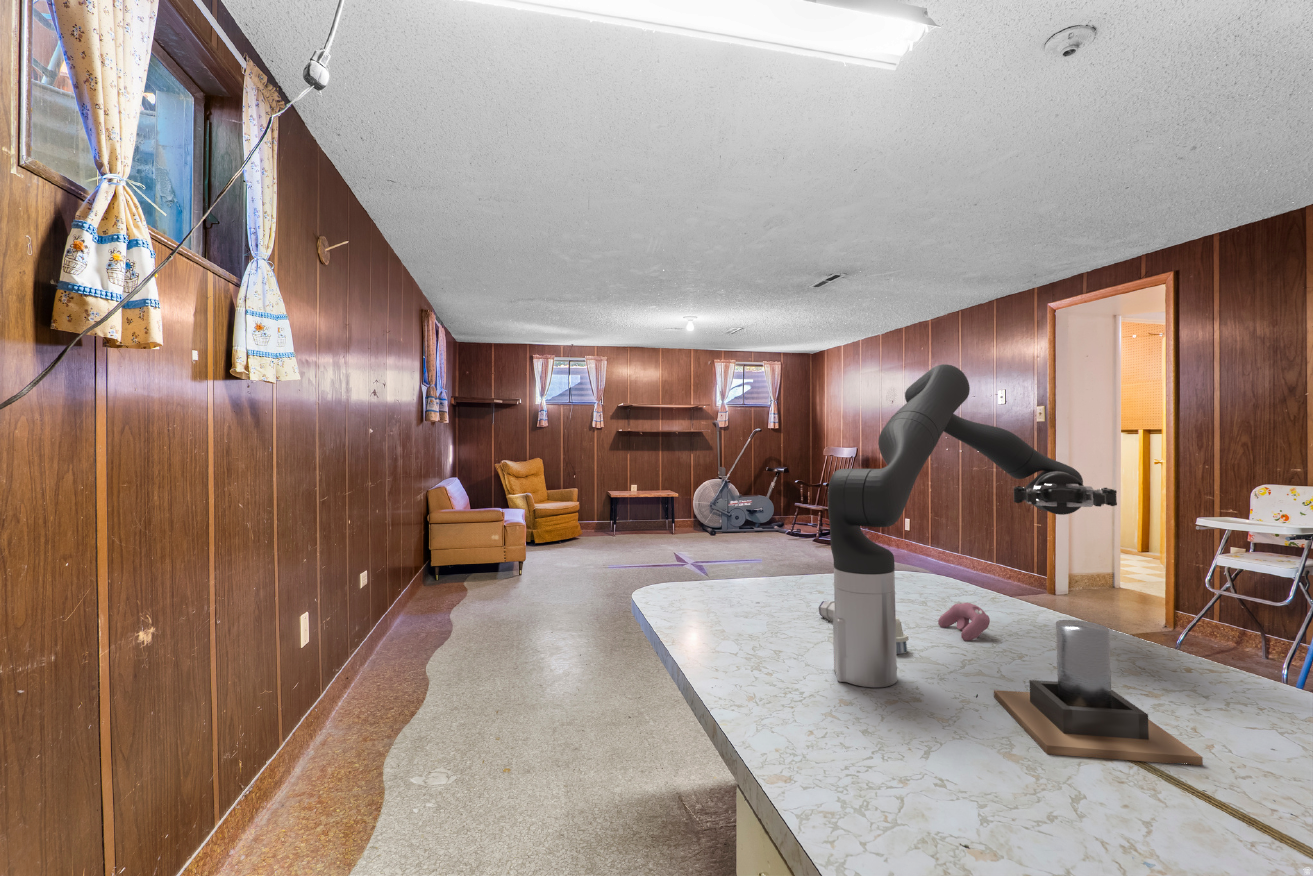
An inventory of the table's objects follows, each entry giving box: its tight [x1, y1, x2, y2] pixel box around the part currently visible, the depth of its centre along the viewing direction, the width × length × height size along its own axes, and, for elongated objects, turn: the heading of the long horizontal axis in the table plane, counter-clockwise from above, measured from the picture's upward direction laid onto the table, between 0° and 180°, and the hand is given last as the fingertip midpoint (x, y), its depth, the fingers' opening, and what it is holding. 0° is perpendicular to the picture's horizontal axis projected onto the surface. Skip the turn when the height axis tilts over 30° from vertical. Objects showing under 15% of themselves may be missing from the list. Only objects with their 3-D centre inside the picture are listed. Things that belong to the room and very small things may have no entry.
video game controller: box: [937, 601, 991, 642], centre depth 113 cm, size 10×5×7 cm, turn 2°
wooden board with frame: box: [993, 679, 1204, 766], centre depth 75 cm, size 16×16×4 cm
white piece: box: [818, 600, 909, 655], centre depth 113 cm, size 5×7×25 cm
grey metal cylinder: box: [1055, 619, 1112, 709], centre depth 75 cm, size 6×6×12 cm
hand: (1065, 498), depth 93 cm, fingers open, 8 cm apart
